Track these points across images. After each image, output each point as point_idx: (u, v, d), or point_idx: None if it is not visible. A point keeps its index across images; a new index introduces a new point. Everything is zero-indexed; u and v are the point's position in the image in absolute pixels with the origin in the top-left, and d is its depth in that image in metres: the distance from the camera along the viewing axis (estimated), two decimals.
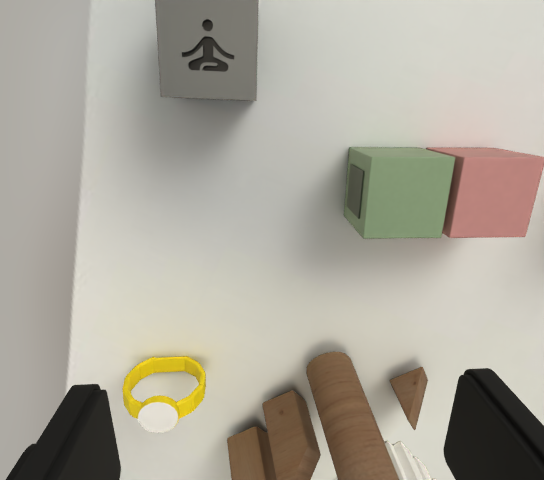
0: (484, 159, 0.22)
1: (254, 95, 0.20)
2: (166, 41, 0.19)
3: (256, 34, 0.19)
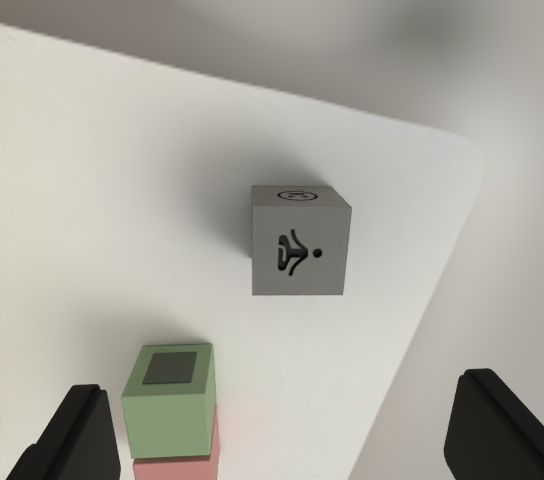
0: (209, 475, 0.25)
1: (256, 293, 0.20)
2: (304, 215, 0.19)
3: (309, 294, 0.21)
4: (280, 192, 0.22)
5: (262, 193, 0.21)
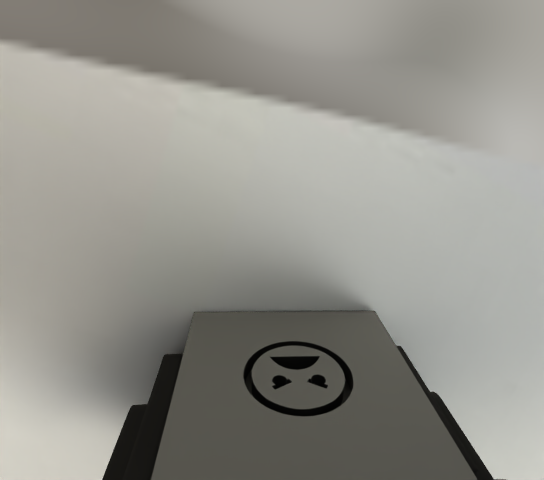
0: None
1: None
2: None
3: None
4: (255, 351, 0.09)
5: (206, 363, 0.08)
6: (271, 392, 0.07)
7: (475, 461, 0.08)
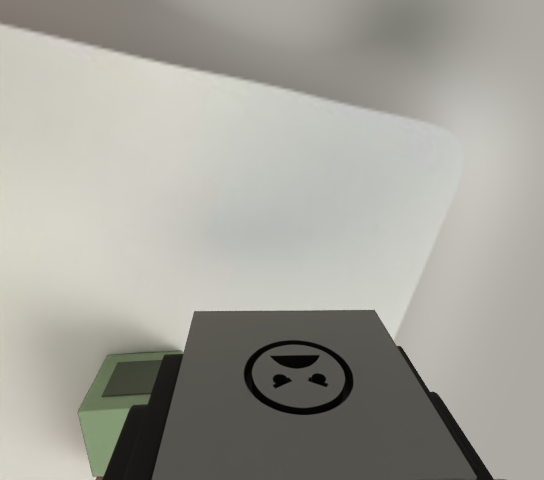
0: None
1: None
2: None
3: None
4: (255, 350, 0.09)
5: (206, 362, 0.08)
6: (271, 391, 0.07)
7: (475, 461, 0.08)
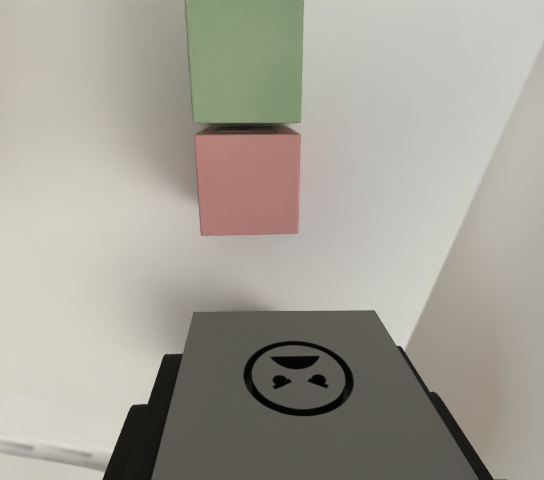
0: (297, 160, 0.18)
1: None
2: None
3: None
4: (254, 351, 0.09)
5: (206, 363, 0.08)
6: (271, 392, 0.07)
7: (475, 461, 0.08)
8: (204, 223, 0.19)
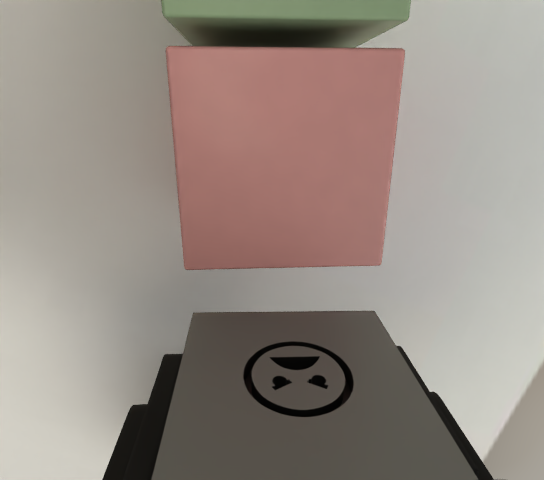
0: (394, 111, 0.08)
1: None
2: None
3: None
4: (254, 351, 0.09)
5: (206, 363, 0.08)
6: (271, 393, 0.07)
7: (475, 461, 0.08)
8: (191, 245, 0.09)
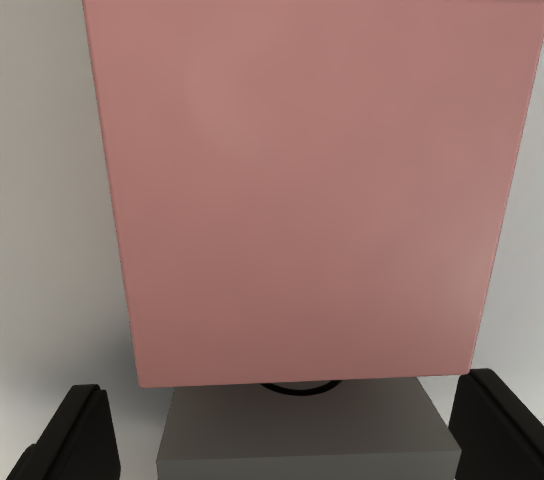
0: (518, 119, 0.04)
1: None
2: (316, 475, 0.06)
3: None
4: None
5: None
6: None
7: None
8: (148, 351, 0.05)
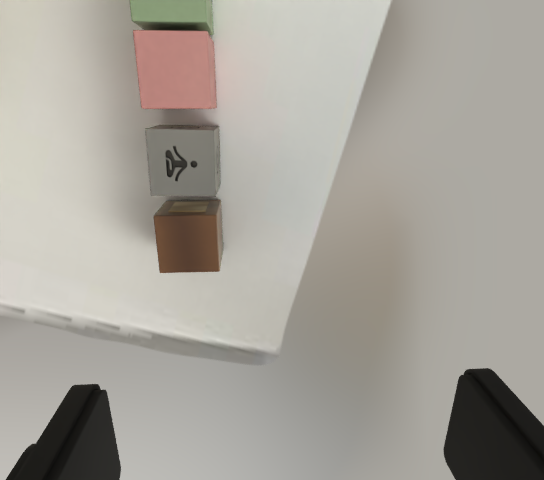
0: (206, 51, 0.26)
1: (154, 194, 0.29)
2: (181, 135, 0.28)
3: (191, 195, 0.29)
4: (175, 126, 0.31)
5: (161, 126, 0.30)
6: (176, 127, 0.29)
7: None
8: (143, 98, 0.27)
